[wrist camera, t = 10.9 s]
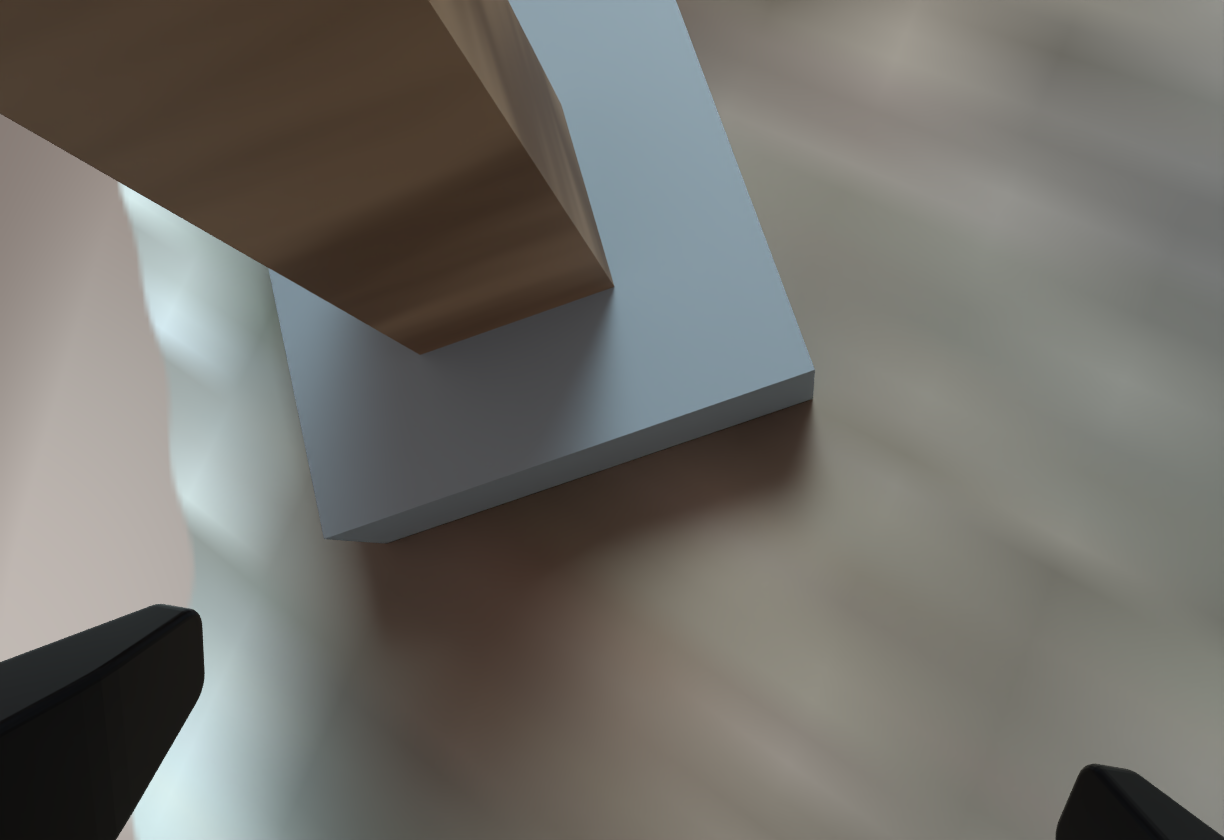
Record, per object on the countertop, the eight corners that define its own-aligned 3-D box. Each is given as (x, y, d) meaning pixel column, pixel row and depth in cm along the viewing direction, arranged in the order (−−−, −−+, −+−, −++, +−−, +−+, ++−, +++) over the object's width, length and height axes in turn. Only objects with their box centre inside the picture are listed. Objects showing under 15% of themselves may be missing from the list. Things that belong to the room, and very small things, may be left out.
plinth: (813, 398, 20) (814, 369, 17) (385, 543, 22) (324, 538, 19) (668, 11, 23) (649, -68, 20) (301, 168, 25) (237, 115, 22)
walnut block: (614, 286, 19) (252, -272, 6) (419, 355, 20) (-240, -24, 7) (561, 104, 20) (167, -667, 8) (380, 176, 21) (-246, -416, 8)
